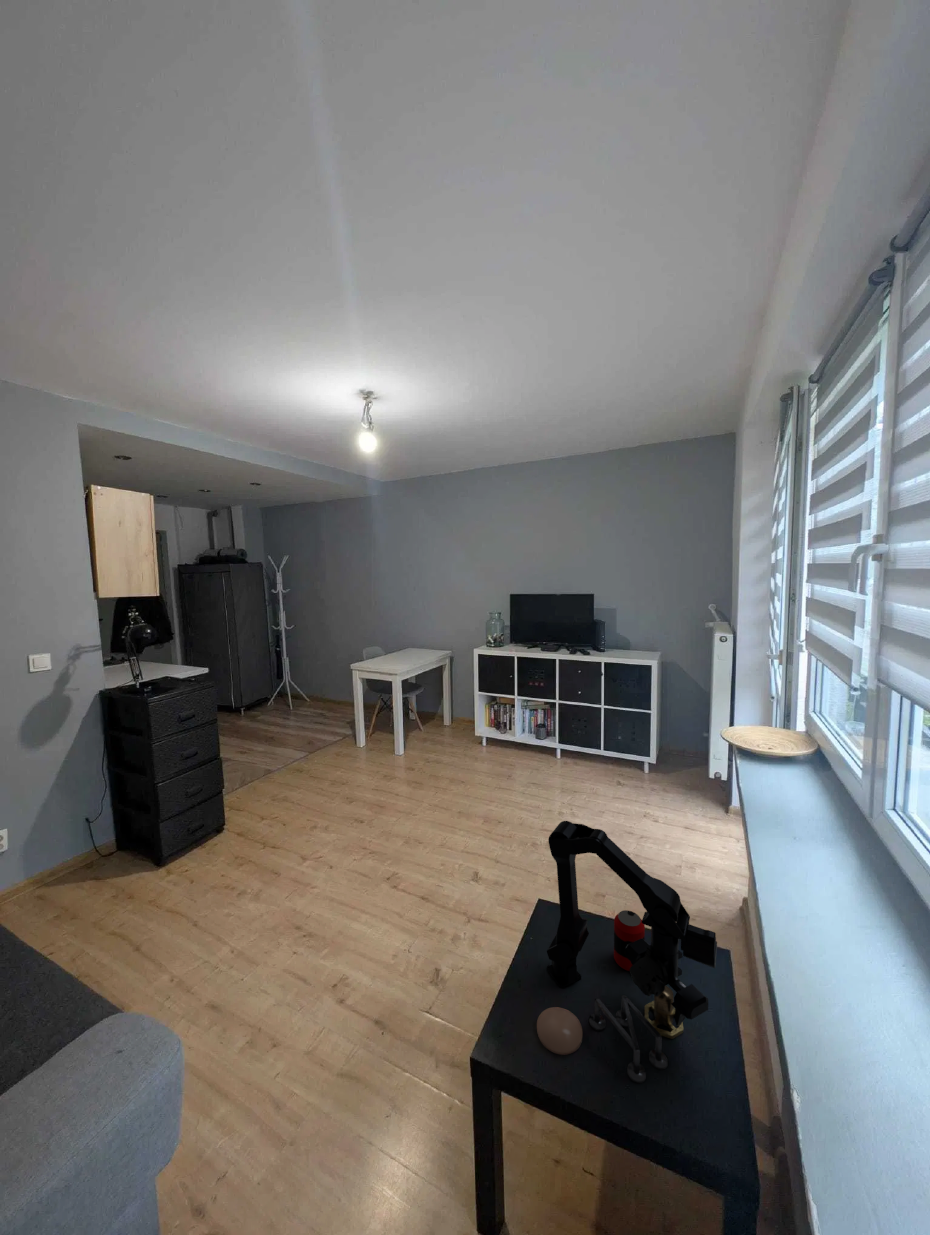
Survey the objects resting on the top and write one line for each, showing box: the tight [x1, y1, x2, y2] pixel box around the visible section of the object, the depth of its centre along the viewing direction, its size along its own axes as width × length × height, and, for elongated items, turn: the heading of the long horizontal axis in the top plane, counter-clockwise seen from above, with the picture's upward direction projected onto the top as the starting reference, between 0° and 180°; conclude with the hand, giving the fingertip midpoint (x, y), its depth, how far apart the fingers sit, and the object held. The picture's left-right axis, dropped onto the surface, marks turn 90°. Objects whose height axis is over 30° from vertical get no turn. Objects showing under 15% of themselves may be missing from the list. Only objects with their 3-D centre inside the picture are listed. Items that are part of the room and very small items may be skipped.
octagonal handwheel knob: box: [644, 985, 684, 1040], centre depth 106 cm, size 8×8×7 cm
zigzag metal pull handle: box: [588, 994, 669, 1084], centre depth 101 cm, size 16×10×6 cm, turn 24°
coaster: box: [536, 1006, 583, 1056], centre depth 104 cm, size 10×10×1 cm
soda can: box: [613, 909, 646, 972], centre depth 122 cm, size 8×8×12 cm
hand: (663, 1009), depth 106 cm, fingers open, 8 cm apart
